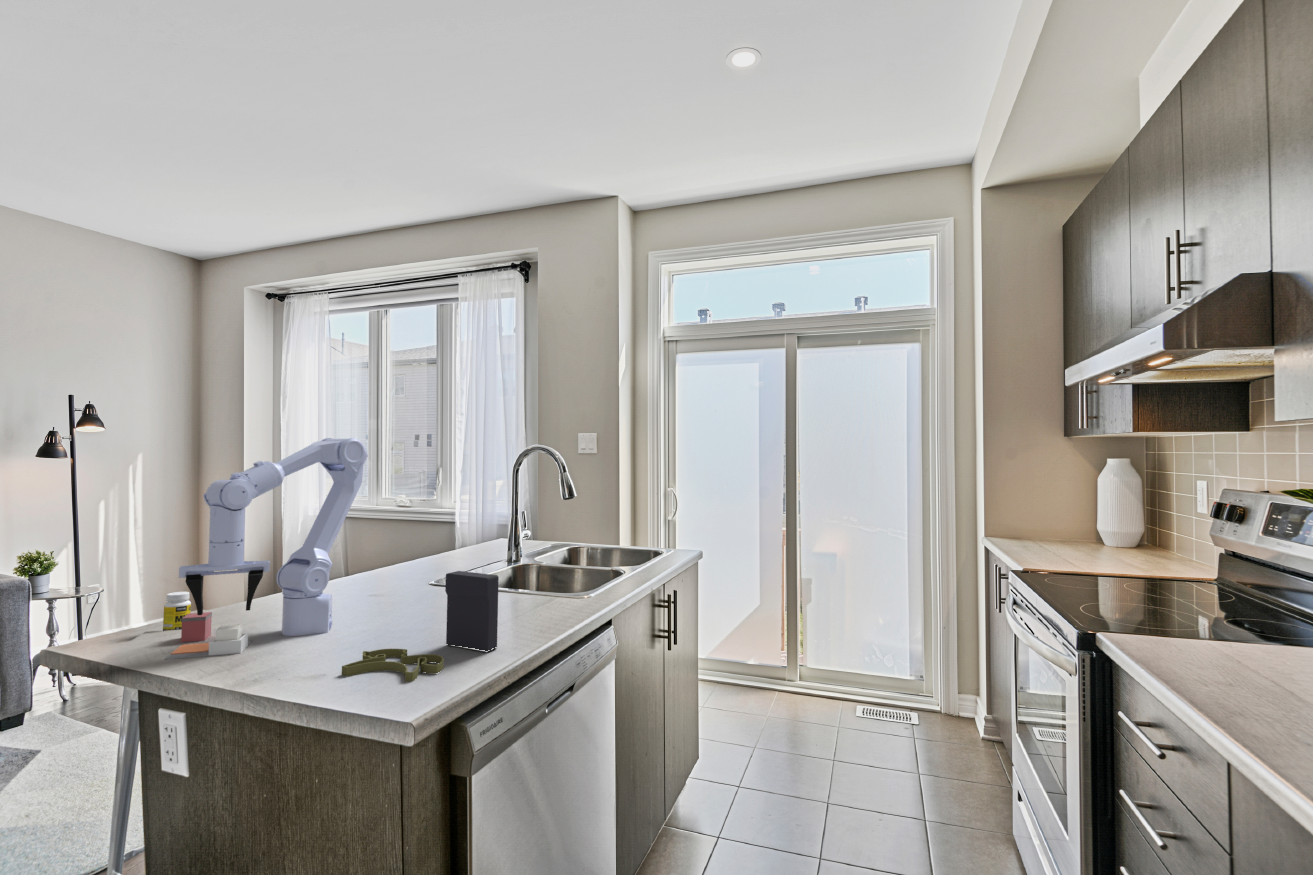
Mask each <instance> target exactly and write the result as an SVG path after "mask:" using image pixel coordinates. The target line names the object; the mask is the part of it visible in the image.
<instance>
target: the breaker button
mask: <svg viewBox="0 0 1313 875" xmlns="http://www.w3.org/2000/svg"><path fill="white" fill-rule="evenodd" d="M243 626H244V624H243V623H241V624H240V623H239V624H228V625H220V626H219V627H218V628H217V629H215V637H214V638H215V641H228V640H239V639H240V638H241V637H242V635H243V633H244V632H243V630H244V628H243Z"/></svg>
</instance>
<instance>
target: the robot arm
mask: <svg viewBox="0 0 1313 875" xmlns="http://www.w3.org/2000/svg"><path fill="white" fill-rule="evenodd" d="M367 458H368V453H367V450H366V448H365V446H364V443H363V442H362V441H361V440H360V439H358V438H356V437H349V438H332V437H325V438H322V439H321V440H320V441H314V442H312V443H311V444H310V445H308V446H306V447H303V448H302V449H300V450H298V451H297V452H294V453H292V454H291V455H288V456H286V457H285V458H282V459H281V460H278V461H276V462H272V461H269V460H265V461H263V460H257V461H256V462H253V464H252V465H253V466H252V467H249V468H248V469H245V470H243V471H241V472H233V473H231V474H230V478H229V479H218V480H215V481H213V482H212V483H211V484H210V486H208V487H207V489H206V492H205V493H203V500H204V502H205V504H206V505H207V506H208V507H209V508H208V509H209V534H208V537H209V538H208V556H207V557H208V563H201V564H193V565H191V564H190V565H181V566H179V568H178V578H179V579H184V578H185V584H186V587H187V588H188V589H189V592H190V593H191V595H192V598H193V601H194V603H195V608H196V613H197V615H202V614H203V613H204V601H203V598H204V597H203V592H204V591H203V589H204V576H217V575H218V576H219V575H231V574H232V575H233V574H243V573H244V574H247V573H248V574H247V576H248V577H247V595H246V601H245V602H246V603H245V604H246V605H245V611H251V606H252V601H253V599H254V596H255V593H256V590H257V588H258V586H259V585H260V582H261V580H262V578H263V576H264V573H266V572H268V573H269V572H271V569H270V568H271V567H270V566H271V561H270V560H249V561H248V560H245V536H246V534H245V533H246V508H247V507H248V506H249V505H250V504H251V503H252V501H253V499H255V498H257V497H260V496H262V495H264V494H266V493H267V492H270V491H272V490H274V489H276V488H278V487H279V486H281V485H282V484H283V481H284V479H285V477H287V476H290V475H292V474H294V473H296V472H298V471H301V470H304V469H305V468H308V467H310V466H312V465H315V464H318V463H319V464H321V466H322V467H323V468H324V470H325V471H326V472H327V473H328V474H329V476H331V479H332V481H333V483H332V486H330V487H331V488H330V490H329V492H328V494H327V495H326V498H325V499H324V501H323V504H322V505H321V508H320V510H319V512H318V514H317V516H316V518H315V520H314V523H313V524H312V527H311V528H310V530H309V532H308V534H307V537H306V538H305V540H304V542H303V544H302V546H301V547H300V548H298V549H296V551H294V552H293V553H292V554H290V556H289V559H288V560H287V561H286V562H285V563H284V564H283V565H281V567H279V569H278V571H277V574H276V578H275V580H276V583H277V586H278V587H279V588H280V589H281V590H282V592H281V594H282V596H283V597H282V615H281V616H282V617H281V618H282V620H281V622H282V623H281V624H282V625H281V634H282V635H284V636H287V637H290V636H292V637H293V636H294V637H296V636H297V637H298V636H306V635H315V634H326V633H329V631H330V629H332V628H333V594H332V593H324V592H323V591H324V590H325V589H326V588H327V586H328V584H329V581H330V572H331V569H332V567H333V563H332V560H331V559H330V556H329V553H330V551H331V549H332V547H333V545H334V544H335V541H336V538H337V536H338V534H339V533H340V530H341V529H342V526H343V524H344V523H345V520H346V518H347V516H348V514H349V512H350V509H351V507H352V505H353V503H354V501H355V498H356V496H357V494H358V493H359V490H360V488H361V486H362V483H363V475H364V473H363V472H364V465H365V462H366V461H367Z"/></svg>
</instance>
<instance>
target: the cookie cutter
mask: <svg viewBox="0 0 1313 875" xmlns="http://www.w3.org/2000/svg"><path fill="white" fill-rule="evenodd" d="M400 657H401V658H400ZM386 658H400V662H398V661H388V660H386ZM427 662H436V663H439V664H431V663H427ZM444 662H445V660H444V657H443V656H442V655H439V654H433V653H432V654H431V653H428V654H427V653H426V654H425V653H424V654H414V655H408V649H405V648H381V649H375V650H370V651H369V650H363V651H362V660H358V661H355V662H350V663H347V664H344V665H341V676H343V677H352V676H355V675H359V674H365V673H369V672H381V671H382V672H383V671H384V670H391V671H390V672H397V671H399V672H398V673H400V672H402V673H404V674H405V675H404V674H403V675H404V682H410V681H413V682H414V681H416V680H417V679H418V677H419V675H420V673H422V672H426V673H425V674H427V673H438V672H440V671H441V670H442V669H443V670H444ZM414 663H418V664H416V665H417V666H416V667H415V669H414V670H413V671H409V670H408V669H409V668H408V665H404V664H409V665H415V664H414ZM419 666H420V667H419ZM443 670H442V671H443ZM442 671H441V672H442ZM441 672H440V673H441ZM402 673H401V674H402ZM418 674H419V675H418ZM417 676H418V677H417ZM415 679H416V680H415Z"/></svg>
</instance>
